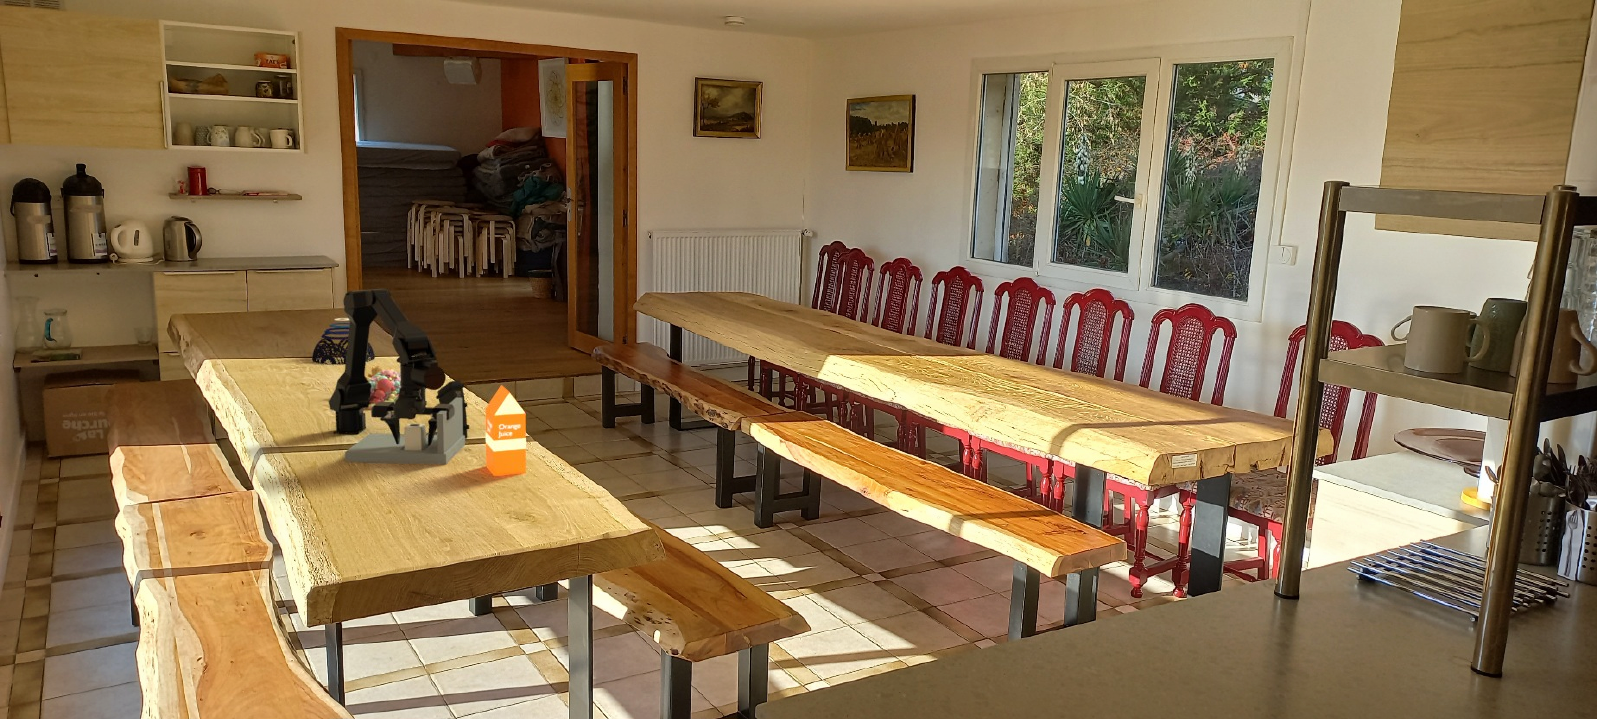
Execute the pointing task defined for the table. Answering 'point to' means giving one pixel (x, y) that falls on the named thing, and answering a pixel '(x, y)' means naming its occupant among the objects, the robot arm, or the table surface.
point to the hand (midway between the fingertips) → (413, 444)
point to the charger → (415, 436)
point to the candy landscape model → (383, 385)
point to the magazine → (450, 393)
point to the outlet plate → (438, 452)
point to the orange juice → (505, 435)
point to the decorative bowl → (322, 348)
